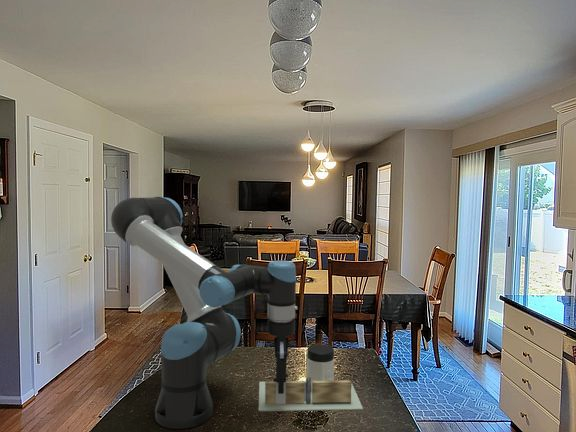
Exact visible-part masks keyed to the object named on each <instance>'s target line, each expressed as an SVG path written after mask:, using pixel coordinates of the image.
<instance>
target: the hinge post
mask: <svg viewBox="0 0 576 432" xmlns="http://www.w3.org/2000/svg"><path fill="white" fill-rule="evenodd" d="M305 381H306V404H310V403H311V378H310V377H307V378H305Z"/></svg>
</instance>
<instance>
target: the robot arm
mask: <svg viewBox="0 0 576 432" xmlns="http://www.w3.org/2000/svg"><path fill="white" fill-rule="evenodd" d="M112 210H113V211H112V212H111V218H110V223H111V227H112V229H113V232H115V234H116V236H118V237H119V238H120V239H121V240H122V241H124V242H125V243H127V244H128V245H130V246H131V247H136V246H137V247H138V248H140V249H141V250H143V251H144V252H146V253H147V254H149V255H150V256H151V257H152V258H154V259H156V260H157V261H158V262H159V263H161V264H162V266H163V269H164V270H165V272H166V274H167V276H168V278H169V280H170V282H171V284H172V286H173V288H174V290H175V293H176V295H177V297H178V299H179V300H180V303H181V305H182V307H183V309H184V311H185V313H186V316H187V321H186V322H183V323H177V324H175V325H173V326H171V327H169V328H168V329H166V330H165V332H164V333H163V335H162V336H161V337H162V338H161V345H160V353H161V354H160V356H161V357H160V359H161V389H160V392H159V396H158V399H157V401H156V404H155V408H154V409H155V410H154V414H155V415H154V417H155V422H156V423H157V424H158V425H160V426H161V427H164V428H167V429H170V430H171V429H172V430H184V429H190V428H191V429H192V428H194V427H197V426H200V425H202V424H204V423H205V422H207V421H208V420H209V419H210V418H211V417H212V415H213V410H214V403H213V398H212V396H211V392H210V390H209V388H208V387H209V386H208V384H207V368H208V367H209V366H210V365H212V364H213V363H216V362H217V361H219V360H220V359H222V358H224V357H226V356H228V355H229V354H230V353H232V352H233V351H234V350H235V349H236V348H237V347H238V345H239V344H240V340H241V335H242V334H241V333H242V332H241V326H240V323H239V321H238V319H237V318H236V317H235V316H234V315H232V314H231V313H229V312H228V313H227V312H225V310H224V309H223V307H222V306H225V305H229V304H230V303H232V302H233V301H236V300H239V299H241V298H244V297H246V296H248V295H250V294H255V295H263V296H267V318H268V319H267V333H268V334H269V335H271V336H273V348H274V357H275V359H276V360H275V377H276V378H275V377H274V378H273V381H274V382H276V404H286V381H287V378H289V375H288V373H287V358H288V357H289V354H288V353H289V348H290V347H289V346H290V344H289V343H290V342H289V336H292V335H294V334H295V332H296V319H295V318H296V311H297V310H298V309H299V308H298V306H297V305H296V295H297V294H296V290H297V289H296V288H297V272H296V271H297V270H296V264H295V263H294V262H292V261H290V260H272V261H269V263H268V264H267V267H265V266H257V265H249V264H234V265H232V266H231V268H230V269H229V270H228V271H225V270H224V269H222V268H221V267H220V266H218V265H216V264H214V263H213V262H212V261H210V260H208V258H206V257H204V256H203V255H201V254H199V253H198V252H197V251H195V250H194V249H192V248H191V247H189V246H188V245H186V243H185V242H184V240H183V238H182V236H181V235H182V232H183V230H184V229H183V226H182V224H183V217H184V215H183V211H182V209H181V207H180V205H179V204H178V203H177V202H176V201H175V200H173V199H172V198H170V197H162V196H153V197H128V198H125V199H123V200H122V201H120V202H119V203H117V204H116V206H114V209H112ZM274 336H275V337H274Z"/></svg>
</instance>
